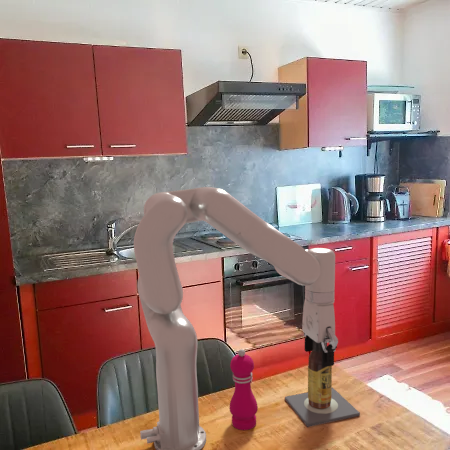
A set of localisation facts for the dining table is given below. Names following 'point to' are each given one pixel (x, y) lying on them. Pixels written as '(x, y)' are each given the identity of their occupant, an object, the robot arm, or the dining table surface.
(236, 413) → the pepper mill
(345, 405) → the bottle mat
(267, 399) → the dining table surface
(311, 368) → the sauce bottle
